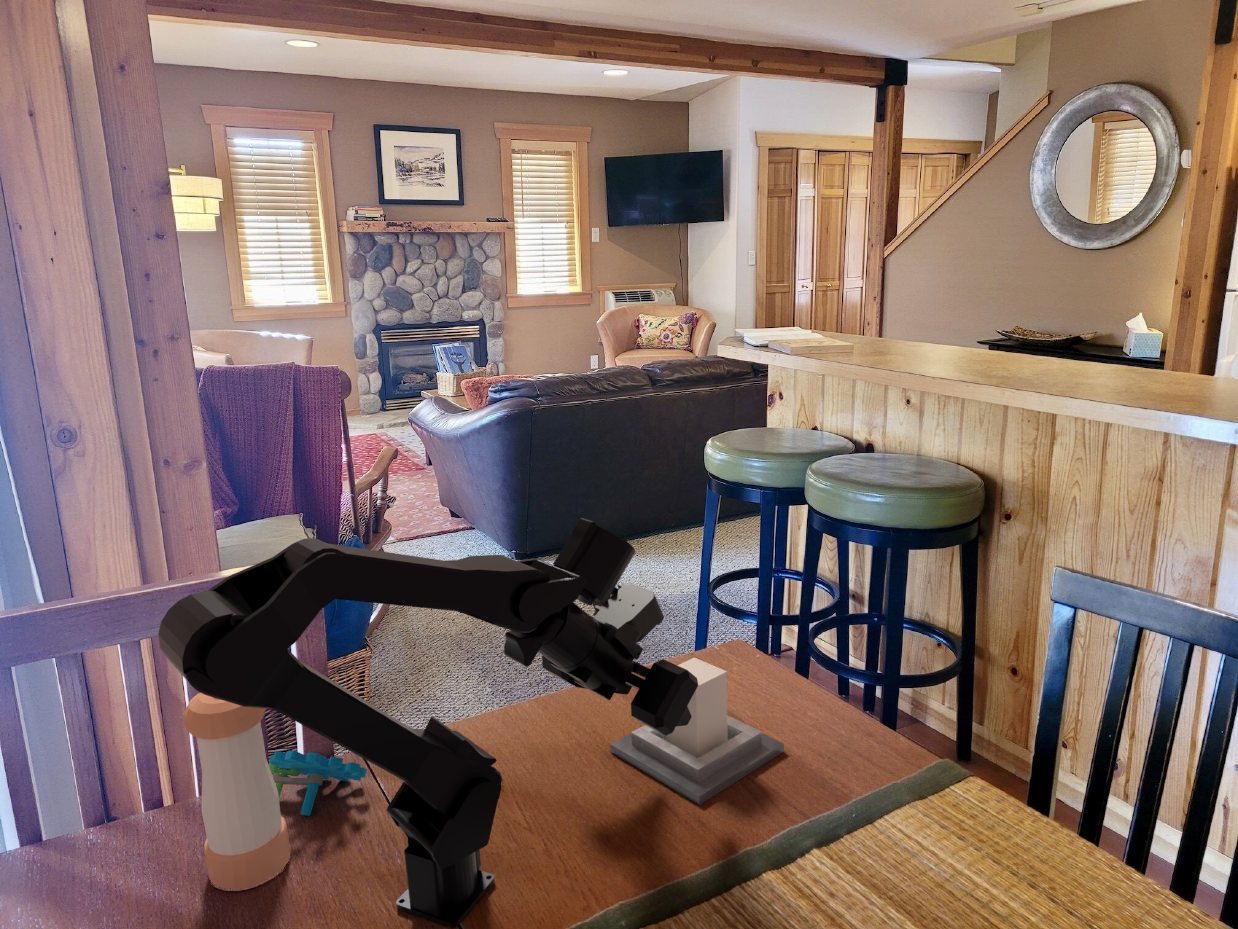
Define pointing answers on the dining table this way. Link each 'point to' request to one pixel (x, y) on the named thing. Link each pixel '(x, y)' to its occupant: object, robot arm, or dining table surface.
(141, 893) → the dining table surface
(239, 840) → the pepper shaker
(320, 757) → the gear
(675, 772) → the locating plate
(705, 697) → the square block
